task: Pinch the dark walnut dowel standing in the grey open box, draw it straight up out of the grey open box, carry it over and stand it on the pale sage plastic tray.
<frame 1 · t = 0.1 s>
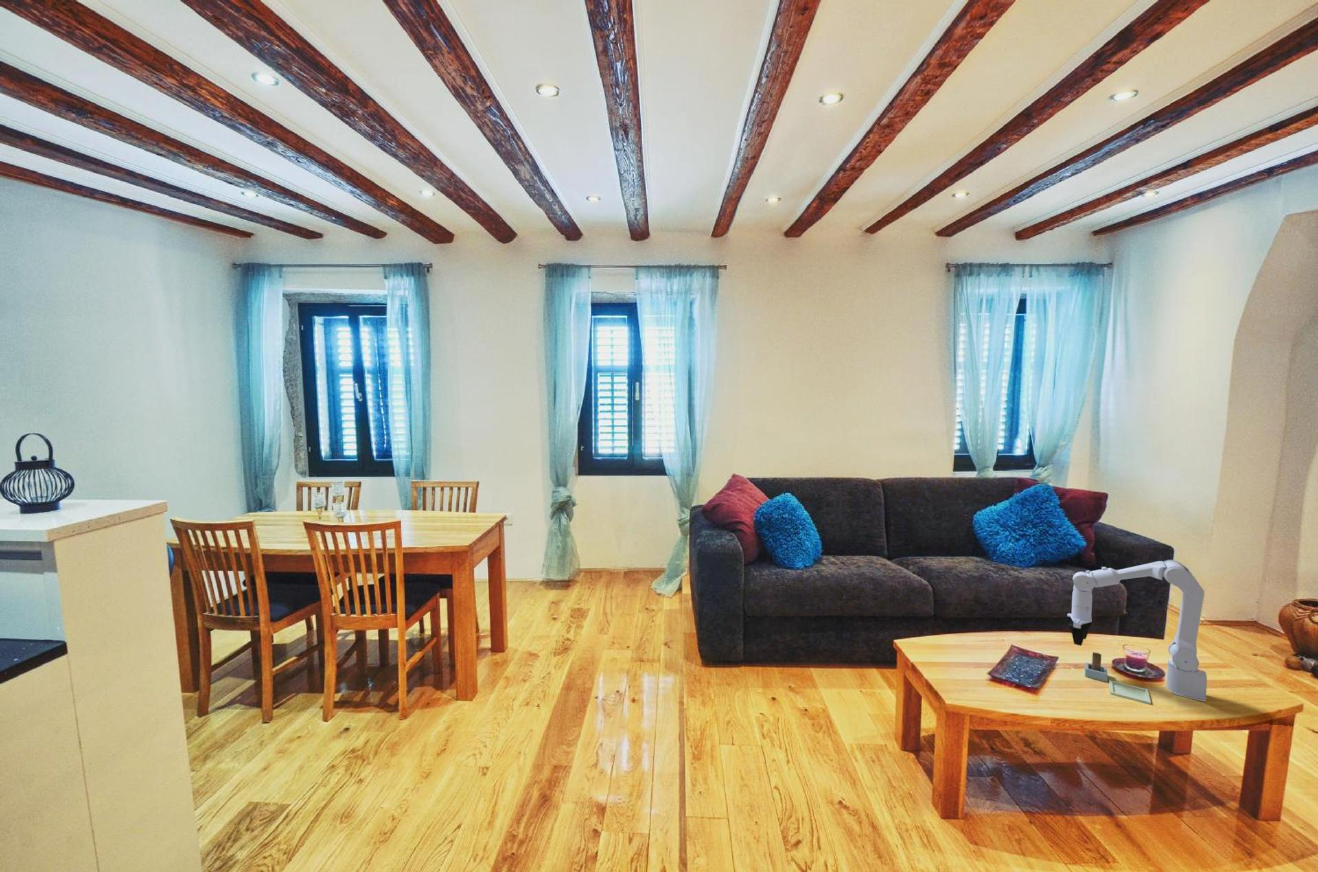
hand: (1080, 641, 196), 10 cm above the table, fingers open, 7 cm apart
tray: (1128, 694, 179), on the table
dowel: (1095, 675, 189), point 1 cm above the table, touching grey open box
grey open box: (1095, 677, 189), on the table
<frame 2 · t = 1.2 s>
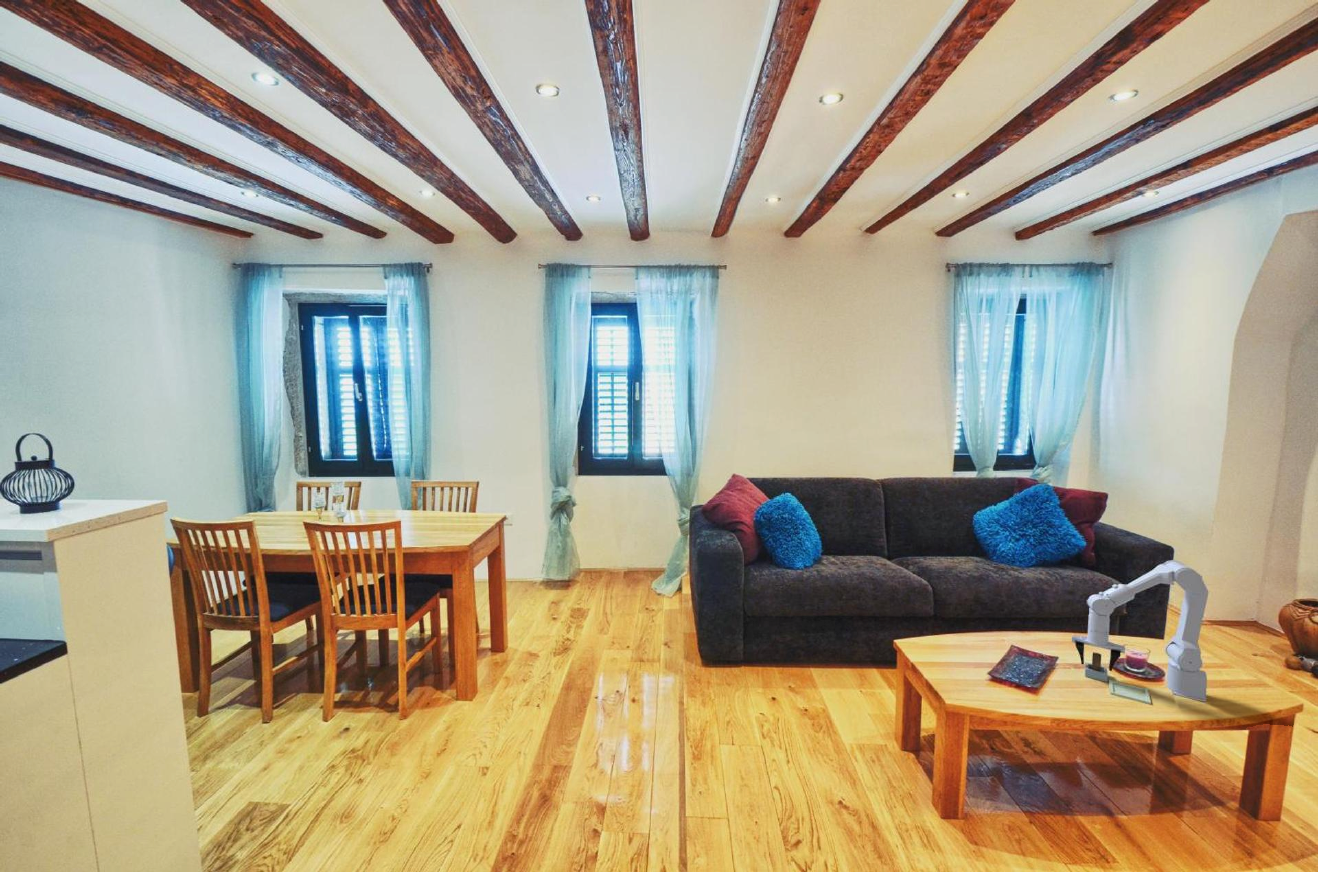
hand: (1096, 666, 189), 4 cm above the table, fingers open, 7 cm apart
nothing on the table moved.
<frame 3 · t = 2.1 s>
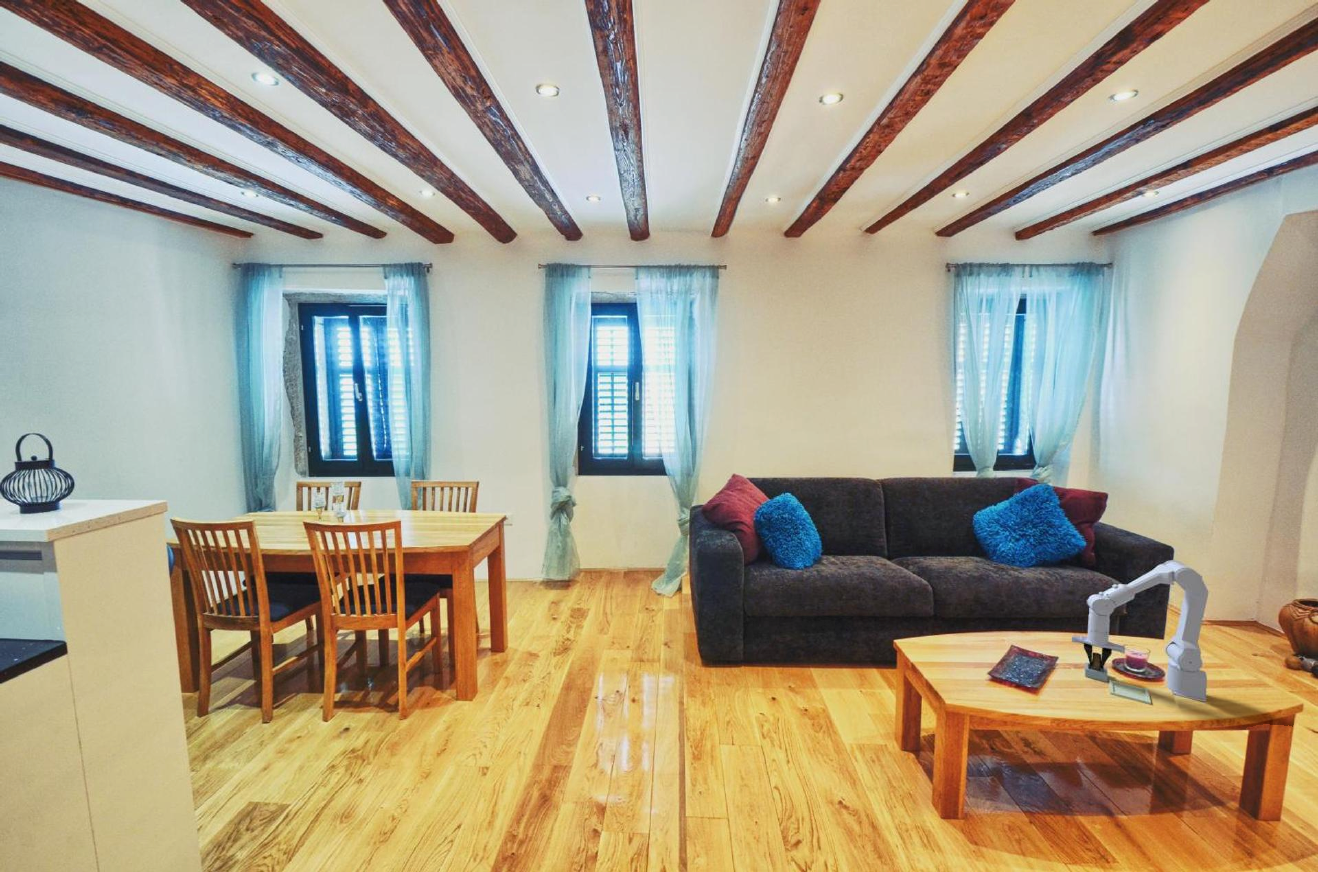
hand: (1096, 666, 189), 4 cm above the table, fingers closed on dowel, 2 cm apart
dowel: (1095, 675, 189), point 1 cm above the table, touching grey open box, gripper
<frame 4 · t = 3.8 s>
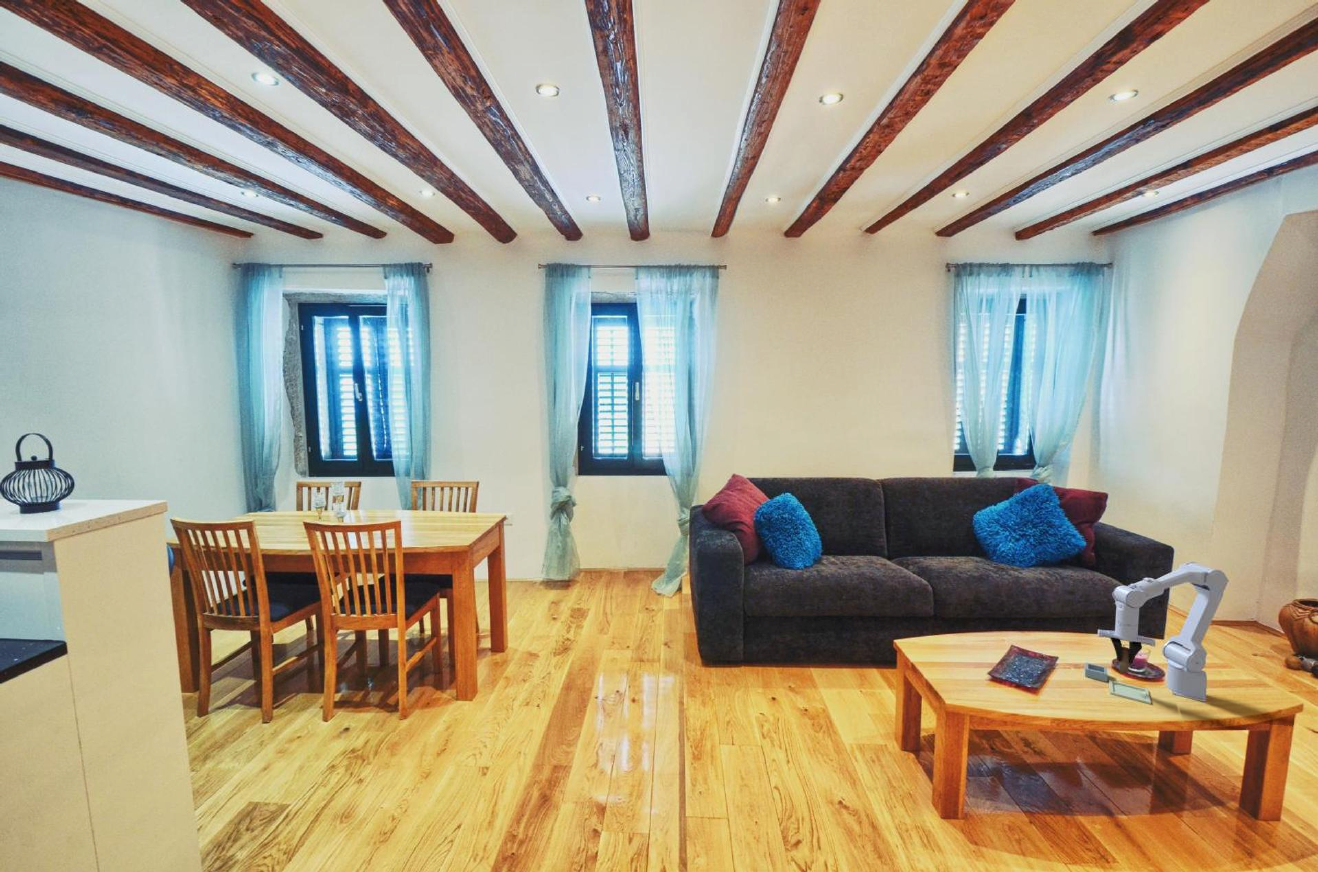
hand: (1124, 661, 180), 10 cm above the table, fingers closed on dowel, 2 cm apart
dowel: (1123, 671, 180), point 7 cm above the table, touching gripper
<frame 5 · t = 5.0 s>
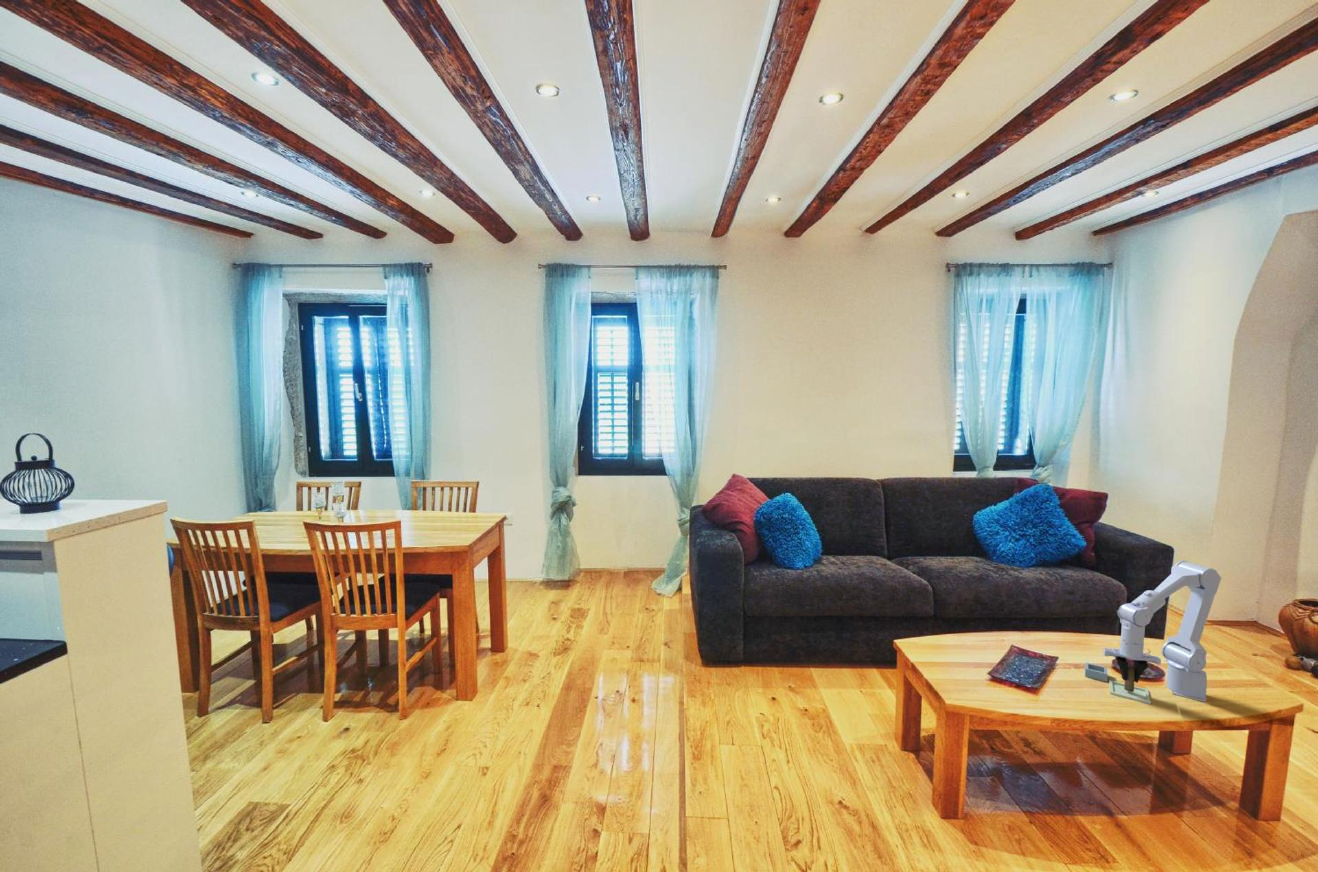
hand: (1129, 680, 178), 5 cm above the table, fingers closed on dowel, 2 cm apart
dowel: (1129, 689, 179), point 1 cm above the table, touching gripper
when the fingers open (5 cm above the table, at t = 5.7 s): dowel stays where it is, resting on tray.
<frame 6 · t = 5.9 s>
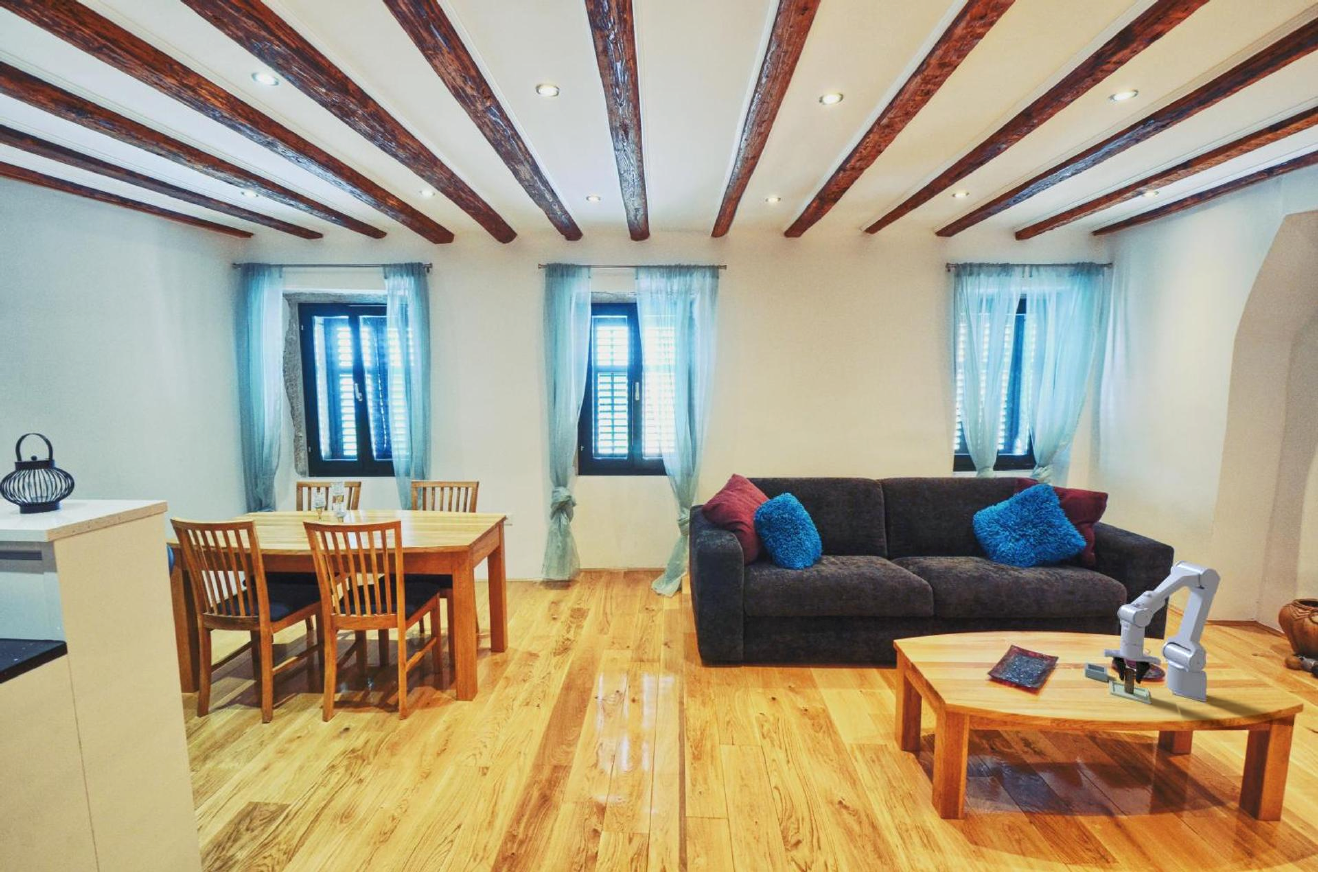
hand: (1129, 680, 178), 5 cm above the table, fingers open, 4 cm apart
dowel: (1129, 692, 179), point 1 cm above the table, touching tray
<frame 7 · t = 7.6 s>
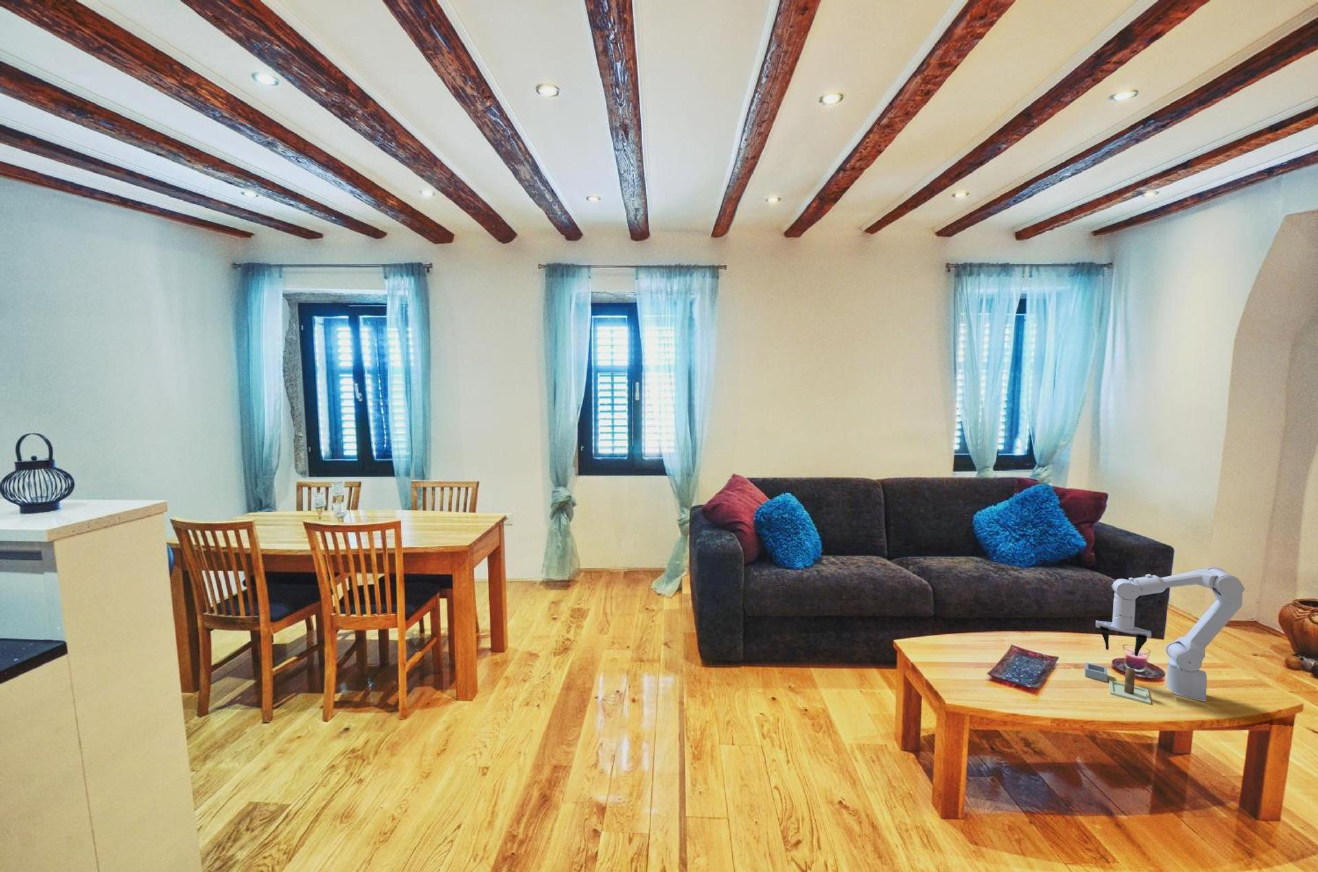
hand: (1121, 651, 187), 10 cm above the table, fingers open, 7 cm apart
nothing on the table moved.
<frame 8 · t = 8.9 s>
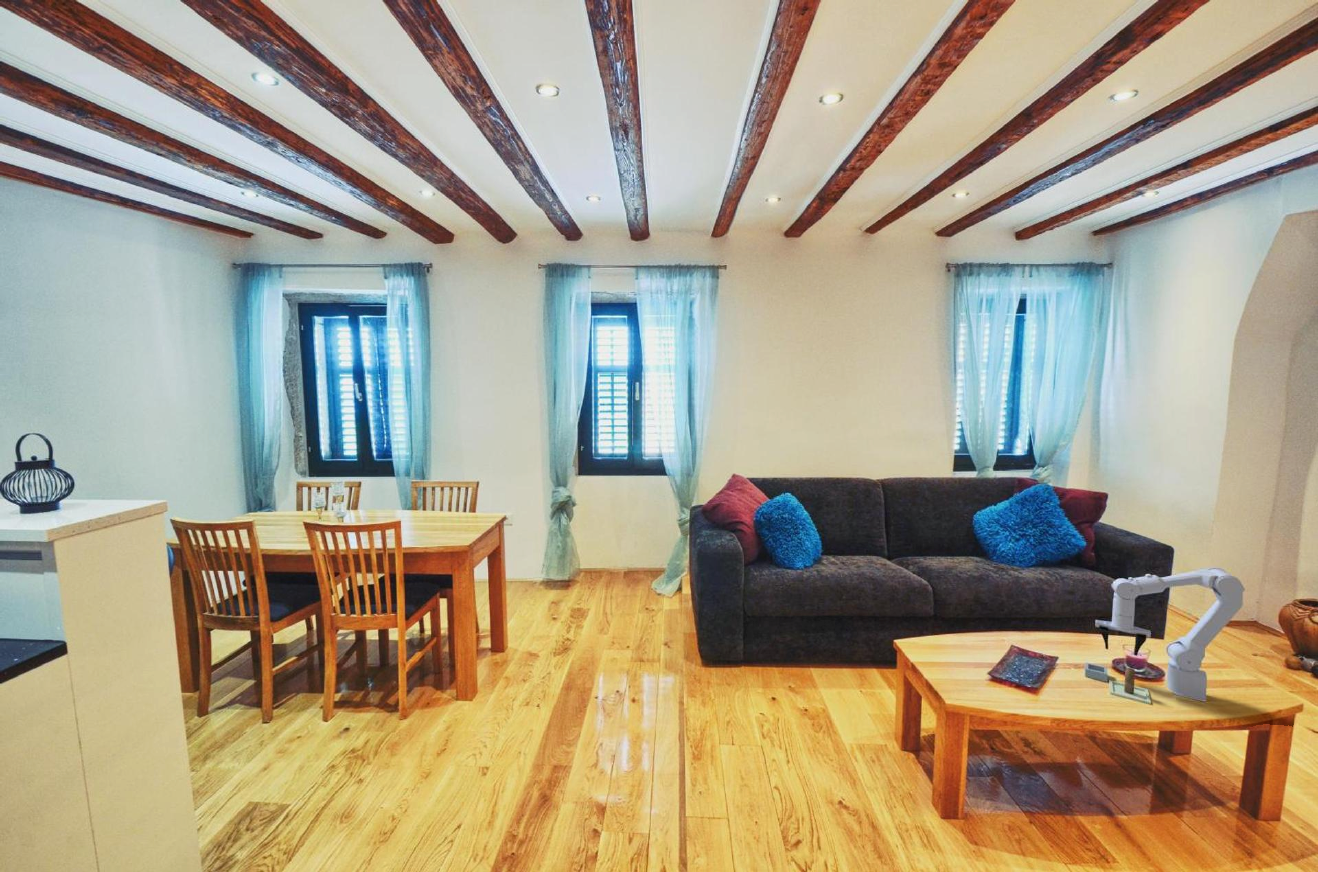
hand: (1120, 651, 187), 10 cm above the table, fingers open, 7 cm apart
nothing on the table moved.
at the end: dowel inside the target area on the tray (0.0 cm from its centre), point 0.6 cm above the tray's base; dowel tilted 0°; the gripper is holding nothing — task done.
